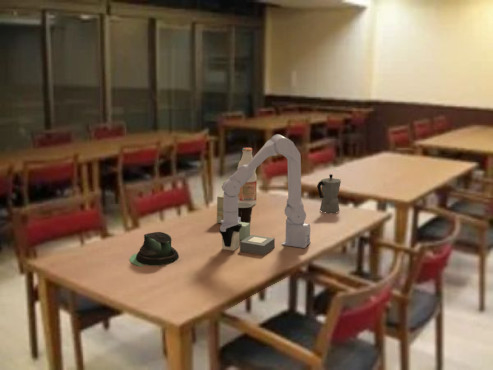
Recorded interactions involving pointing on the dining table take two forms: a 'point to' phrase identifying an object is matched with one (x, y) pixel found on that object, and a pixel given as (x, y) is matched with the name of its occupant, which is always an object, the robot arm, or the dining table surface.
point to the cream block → (232, 242)
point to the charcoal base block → (257, 244)
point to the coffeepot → (329, 194)
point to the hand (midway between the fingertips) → (230, 244)
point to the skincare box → (220, 208)
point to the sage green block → (244, 230)
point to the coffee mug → (245, 212)
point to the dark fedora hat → (155, 250)
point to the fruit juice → (250, 187)
